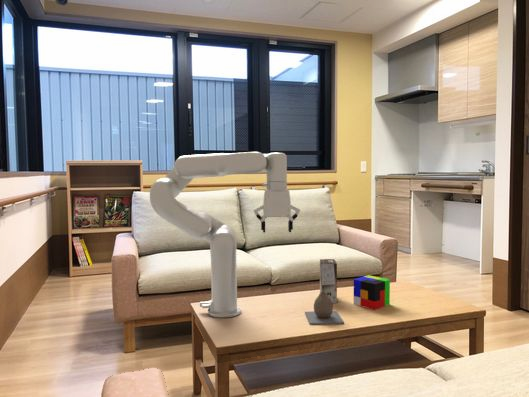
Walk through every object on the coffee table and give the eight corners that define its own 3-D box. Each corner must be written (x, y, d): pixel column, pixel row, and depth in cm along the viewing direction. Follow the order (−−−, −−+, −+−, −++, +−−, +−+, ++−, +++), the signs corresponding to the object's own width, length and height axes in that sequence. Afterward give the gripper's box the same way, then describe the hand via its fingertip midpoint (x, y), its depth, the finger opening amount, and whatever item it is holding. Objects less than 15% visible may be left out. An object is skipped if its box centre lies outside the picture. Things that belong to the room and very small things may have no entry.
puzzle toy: (353, 304, 168) (353, 279, 167) (368, 298, 174) (368, 275, 174) (375, 310, 160) (375, 284, 160) (389, 304, 167) (389, 279, 166)
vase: (332, 320, 147) (332, 296, 147) (313, 319, 149) (313, 295, 148) (333, 314, 154) (333, 290, 154) (314, 313, 155) (314, 289, 155)
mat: (309, 324, 145) (309, 323, 145) (304, 313, 157) (304, 311, 157) (344, 323, 146) (344, 322, 146) (336, 312, 158) (336, 310, 158)
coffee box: (337, 303, 169) (337, 263, 168) (321, 303, 169) (321, 263, 168) (334, 296, 178) (334, 258, 177) (319, 296, 178) (319, 258, 177)
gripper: (253, 186, 153) (254, 233, 154) (301, 186, 153) (301, 233, 154) (253, 186, 160) (253, 230, 161) (298, 185, 161) (298, 230, 162)
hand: (276, 231), depth 158 cm, fingers open, 9 cm apart
